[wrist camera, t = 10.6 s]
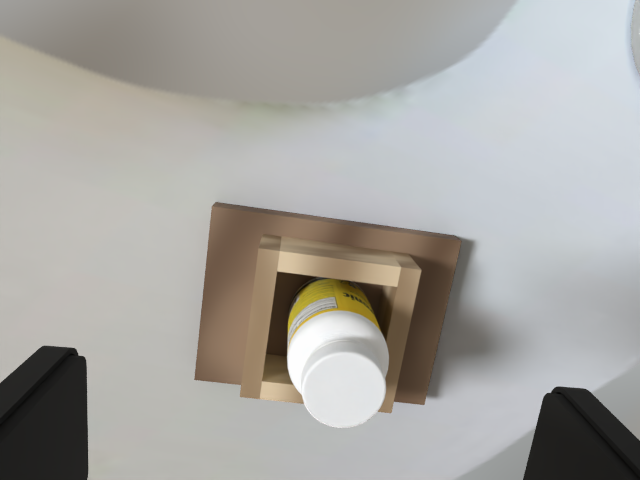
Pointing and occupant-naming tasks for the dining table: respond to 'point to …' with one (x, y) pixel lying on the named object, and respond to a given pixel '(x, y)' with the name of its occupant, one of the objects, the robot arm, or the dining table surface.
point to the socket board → (302, 266)
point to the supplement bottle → (336, 352)
